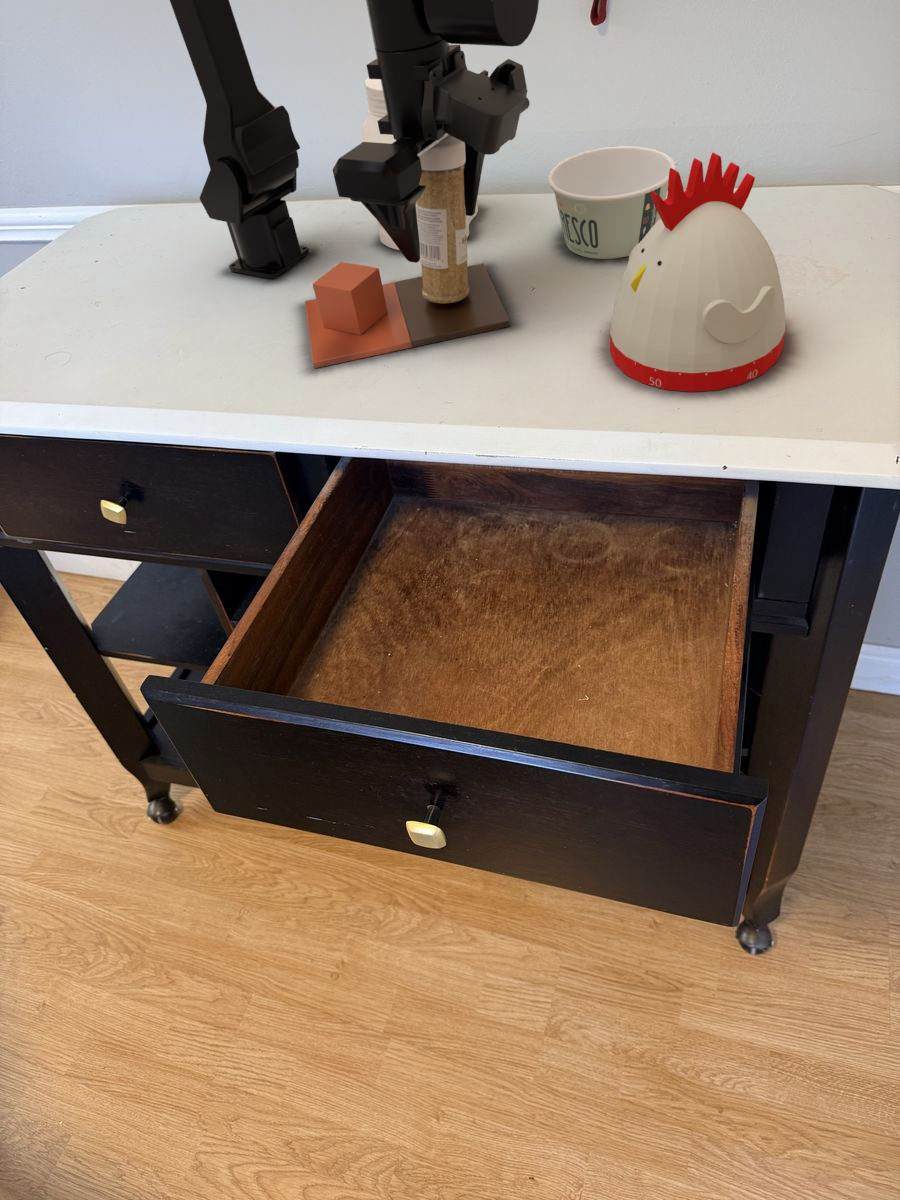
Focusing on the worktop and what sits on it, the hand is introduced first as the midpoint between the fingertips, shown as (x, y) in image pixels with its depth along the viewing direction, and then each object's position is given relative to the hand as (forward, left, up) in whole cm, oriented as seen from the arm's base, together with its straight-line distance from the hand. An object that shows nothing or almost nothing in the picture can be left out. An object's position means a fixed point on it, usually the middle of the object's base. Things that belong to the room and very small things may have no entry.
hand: (442, 237), depth 81 cm
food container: (+8, +17, -7) cm, 20 cm away
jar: (-12, +14, -7) cm, 19 cm away
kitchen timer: (+23, +1, -7) cm, 24 cm away
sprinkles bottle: (-1, 0, -6) cm, 6 cm away
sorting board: (-4, -3, -7) cm, 8 cm away
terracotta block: (-7, -6, -6) cm, 11 cm away
